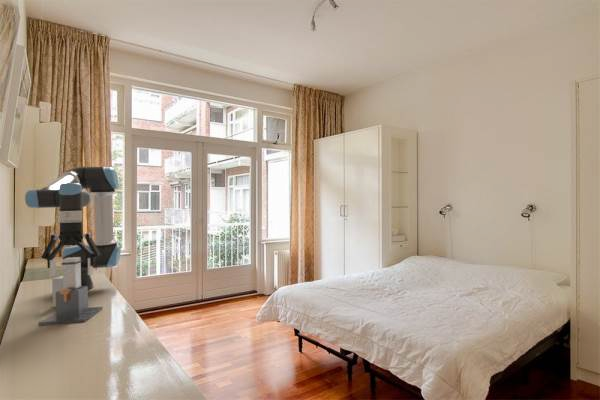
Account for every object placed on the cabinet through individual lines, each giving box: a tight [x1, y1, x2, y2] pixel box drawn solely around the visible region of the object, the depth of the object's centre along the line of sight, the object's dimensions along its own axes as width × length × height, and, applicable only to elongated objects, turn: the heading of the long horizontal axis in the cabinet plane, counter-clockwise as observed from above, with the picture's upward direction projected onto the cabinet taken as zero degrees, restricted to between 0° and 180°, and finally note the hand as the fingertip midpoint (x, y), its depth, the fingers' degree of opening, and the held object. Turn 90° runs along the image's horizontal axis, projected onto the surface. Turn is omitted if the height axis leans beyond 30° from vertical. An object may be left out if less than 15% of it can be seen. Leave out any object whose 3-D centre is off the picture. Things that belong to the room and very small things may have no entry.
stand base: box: [38, 286, 103, 326], centre depth 136 cm, size 16×16×12 cm
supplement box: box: [51, 275, 63, 308], centre depth 153 cm, size 7×7×13 cm
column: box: [61, 257, 82, 290], centre depth 136 cm, size 5×5×22 cm
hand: (71, 275), depth 136 cm, fingers open, 13 cm apart
